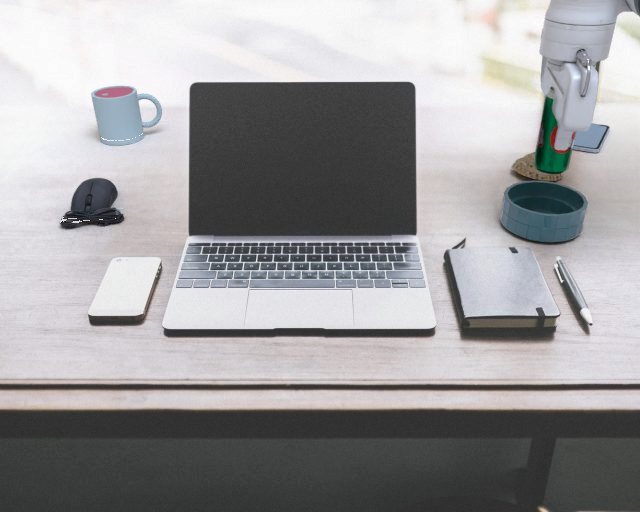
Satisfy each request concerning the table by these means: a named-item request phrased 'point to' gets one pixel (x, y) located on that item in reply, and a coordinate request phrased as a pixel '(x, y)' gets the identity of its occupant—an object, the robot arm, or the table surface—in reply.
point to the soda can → (551, 142)
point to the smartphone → (591, 138)
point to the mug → (121, 114)
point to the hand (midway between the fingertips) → (556, 140)
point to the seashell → (532, 169)
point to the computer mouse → (94, 203)
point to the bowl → (543, 211)
